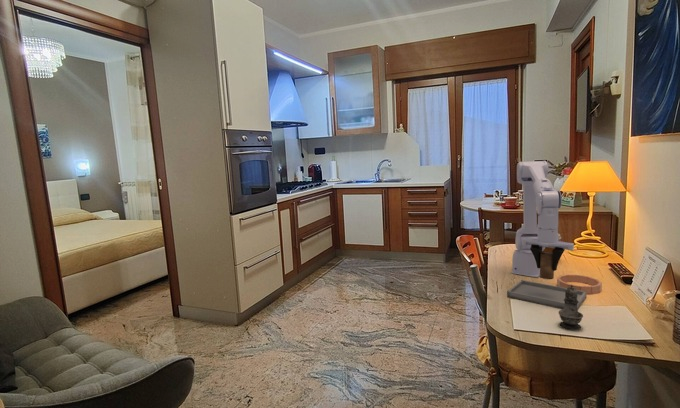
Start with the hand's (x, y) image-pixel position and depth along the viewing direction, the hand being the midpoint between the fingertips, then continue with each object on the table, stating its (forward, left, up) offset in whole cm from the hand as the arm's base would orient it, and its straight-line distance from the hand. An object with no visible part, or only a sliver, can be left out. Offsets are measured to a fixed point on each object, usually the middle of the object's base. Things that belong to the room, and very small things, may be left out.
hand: (546, 268), depth 125 cm
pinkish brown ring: (+6, +16, -10) cm, 20 cm away
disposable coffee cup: (-11, +43, -10) cm, 45 cm away
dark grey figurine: (+11, -18, -10) cm, 23 cm away
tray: (0, 0, -10) cm, 10 cm away
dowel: (0, 0, -3) cm, 3 cm away
